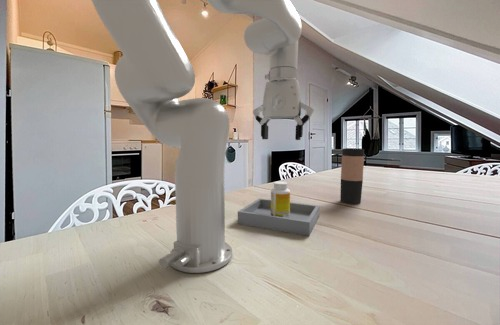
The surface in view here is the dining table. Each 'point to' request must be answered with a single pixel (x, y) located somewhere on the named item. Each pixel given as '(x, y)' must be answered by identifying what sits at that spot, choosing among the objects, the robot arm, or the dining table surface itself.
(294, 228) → the tray
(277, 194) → the supplement bottle
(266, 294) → the dining table surface
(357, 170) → the travel mug
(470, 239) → the dining table surface
